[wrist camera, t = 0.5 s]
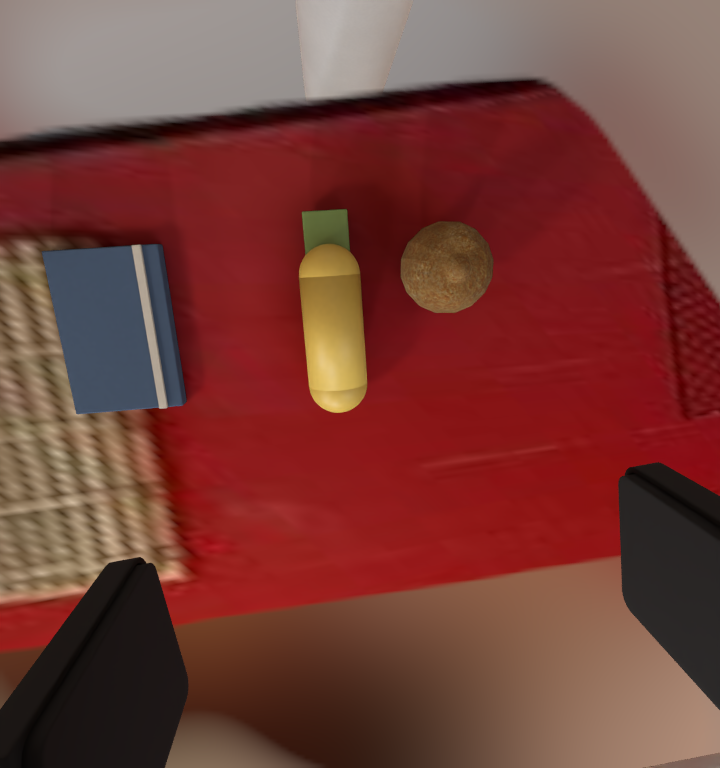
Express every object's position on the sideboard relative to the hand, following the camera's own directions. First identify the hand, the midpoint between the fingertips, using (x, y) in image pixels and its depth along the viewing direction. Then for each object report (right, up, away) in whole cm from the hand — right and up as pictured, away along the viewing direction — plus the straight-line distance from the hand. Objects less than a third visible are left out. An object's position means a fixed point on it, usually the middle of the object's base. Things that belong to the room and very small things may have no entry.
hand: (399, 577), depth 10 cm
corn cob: (-3, +9, +28) cm, 30 cm away
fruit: (+5, +13, +28) cm, 31 cm away
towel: (-19, +8, +27) cm, 34 cm away
